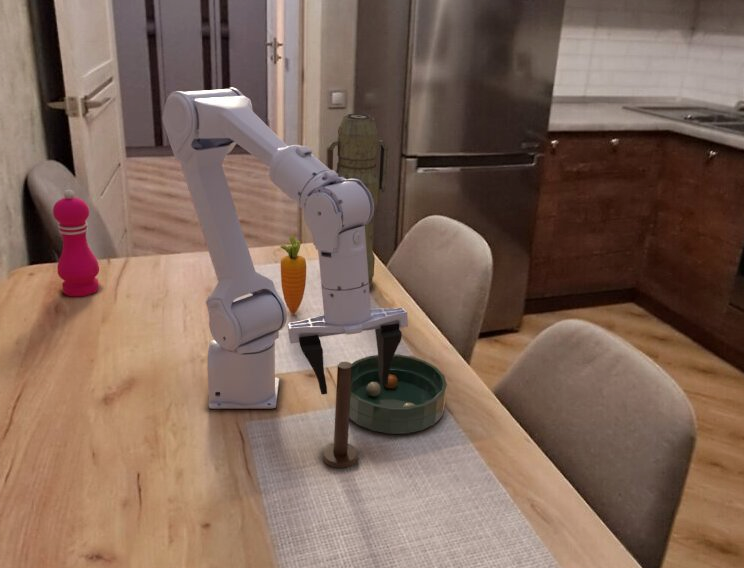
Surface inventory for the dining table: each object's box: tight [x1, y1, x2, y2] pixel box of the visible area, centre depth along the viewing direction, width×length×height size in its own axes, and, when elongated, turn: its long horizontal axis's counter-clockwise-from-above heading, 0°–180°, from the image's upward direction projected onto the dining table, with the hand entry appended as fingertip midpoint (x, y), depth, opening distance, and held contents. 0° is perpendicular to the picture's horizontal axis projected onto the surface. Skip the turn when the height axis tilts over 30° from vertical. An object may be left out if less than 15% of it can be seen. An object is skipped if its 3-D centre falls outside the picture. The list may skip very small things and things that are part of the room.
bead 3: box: [403, 403, 415, 407], centre depth 95 cm, size 2×2×2 cm
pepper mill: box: [52, 189, 100, 298], centre depth 125 cm, size 7×7×20 cm
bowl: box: [349, 353, 448, 435], centre depth 98 cm, size 15×15×4 cm
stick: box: [322, 361, 358, 469], centre depth 84 cm, size 4×4×14 cm
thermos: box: [325, 113, 389, 291], centre depth 133 cm, size 9×12×35 cm
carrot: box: [280, 235, 307, 315], centre depth 123 cm, size 5×5×15 cm
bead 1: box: [366, 382, 381, 397], centre depth 100 cm, size 2×2×2 cm
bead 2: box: [385, 374, 398, 389], centre depth 102 cm, size 2×2×2 cm
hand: (353, 386), depth 84 cm, fingers open, 7 cm apart
